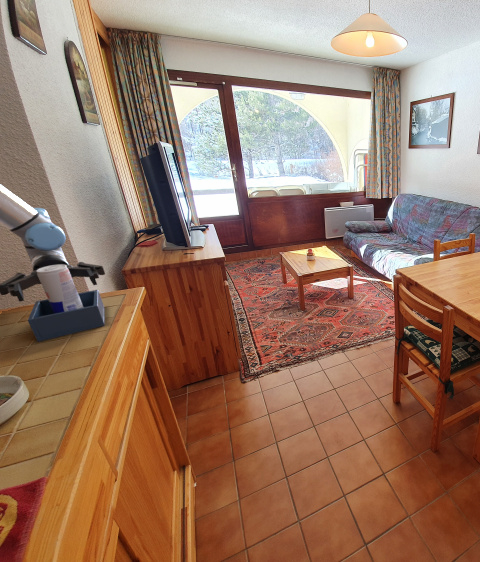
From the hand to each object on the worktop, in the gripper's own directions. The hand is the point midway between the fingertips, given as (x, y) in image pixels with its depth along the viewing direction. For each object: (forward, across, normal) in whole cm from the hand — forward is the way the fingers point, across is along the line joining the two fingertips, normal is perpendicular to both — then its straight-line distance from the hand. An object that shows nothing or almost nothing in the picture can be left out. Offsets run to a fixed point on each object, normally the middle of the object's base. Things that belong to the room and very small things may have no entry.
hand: (58, 287), depth 78 cm
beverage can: (-1, 0, -10) cm, 10 cm away
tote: (-1, 0, -11) cm, 11 cm away
